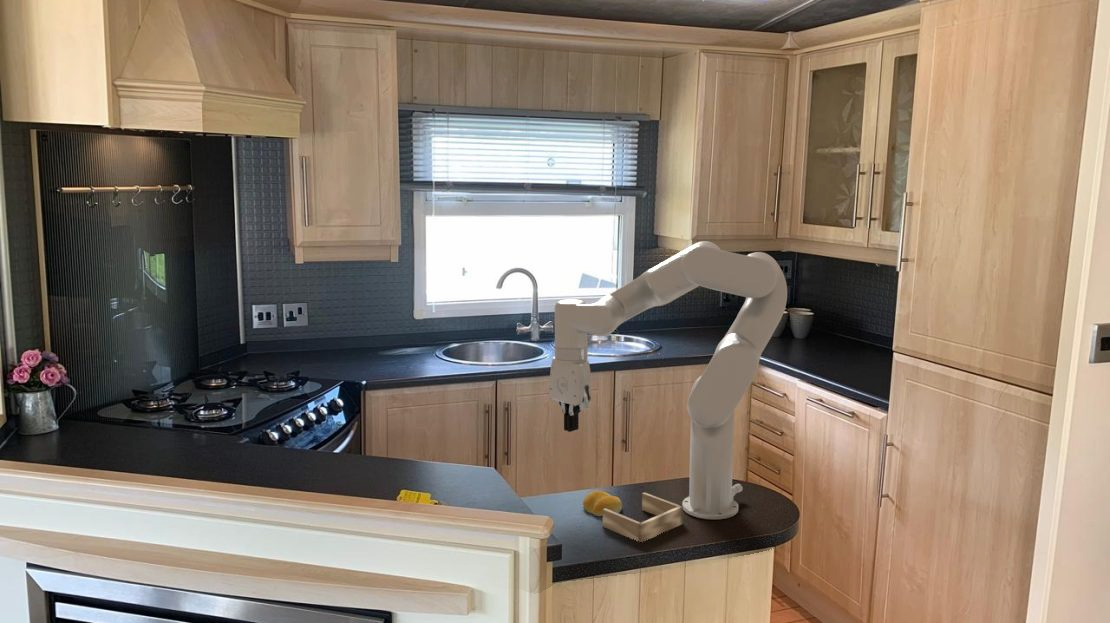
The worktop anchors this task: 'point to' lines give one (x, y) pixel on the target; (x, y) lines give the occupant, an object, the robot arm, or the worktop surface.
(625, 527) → the holder
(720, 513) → the robot arm
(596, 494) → the bread roll
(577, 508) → the worktop surface
